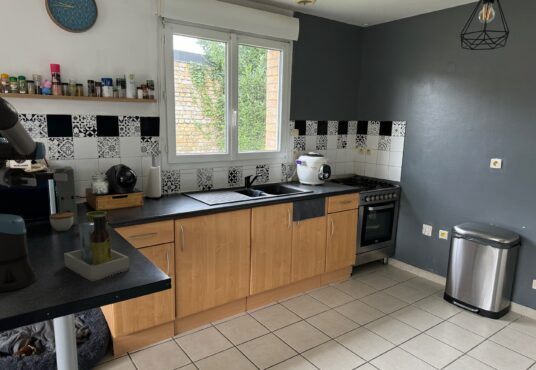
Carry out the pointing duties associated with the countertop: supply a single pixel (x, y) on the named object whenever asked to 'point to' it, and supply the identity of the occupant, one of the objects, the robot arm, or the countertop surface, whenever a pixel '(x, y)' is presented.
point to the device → (67, 193)
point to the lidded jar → (61, 221)
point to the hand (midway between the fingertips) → (51, 179)
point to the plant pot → (91, 214)
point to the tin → (86, 241)
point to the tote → (97, 271)
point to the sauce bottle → (100, 241)
